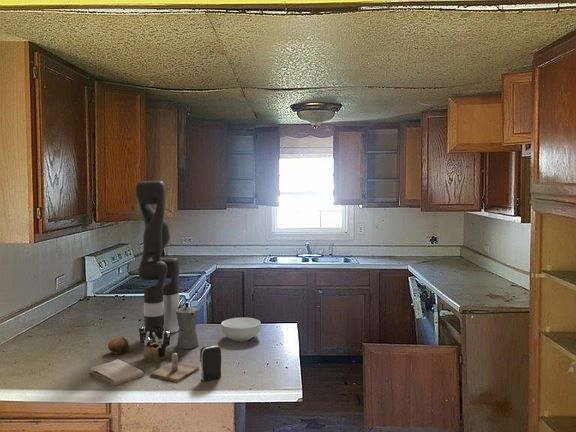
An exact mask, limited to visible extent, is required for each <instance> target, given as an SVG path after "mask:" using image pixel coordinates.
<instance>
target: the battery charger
mask: <svg viewBox="0 0 576 432" xmlns="http://www.w3.org/2000/svg"><path fill="white" fill-rule="evenodd" d="M221 349H222V348H221V347H220V346H218V345H216V344H210V345H206V346H205V345H204V346H203V347H201V349H200V351H199V362H200V363H201V380H202V381H203V382H207V381H212V380H216V379H221V378H222V350H221Z"/></svg>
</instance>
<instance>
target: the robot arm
mask: <svg viewBox="0 0 576 432" xmlns="http://www.w3.org/2000/svg"><path fill="white" fill-rule="evenodd" d="M135 194H136V198H137V202H138V205H139V208H140V212H141V214H142V218H143V222H144V226H145V228H144V231H143V232H144V233H143V236H142V237H143V238H142V239H143V240H142V241H143V242H142V243H143V245H142V246H143V249H142V250H143V251H142V255H141V260H140V263H139V266H138V271H137V272H138V273H137V274H138V277H139V279H140V280H142V281H157V282H155V284H151V285H147V286H145V287H144V290H143V300H144V302H143V303H144V304H143V325H144V326H142V327H139V329H138V333H139V340H140V344H143V345H144V347H145V346H147V345H150V344H152V342H153V340H154V341H155V343H158V345H159V357H160V358H162V357H164V356H165V347H166V348H168V346H169V347H170V344H171V334H174V333H176V332H179V326H178V320H177V314H176V309H178V307H179V305H180V262H179V259H178V258H177V257H162V253H163V251H164V249H165V248H166V247H167V246H168V244H169V242H170V239H171V235H170V234H171V233H170V230H169V225H168V223H167V221H166V220H165V219H164V218H165V209H166V200H167V189H166V185H165V182H163V180H141V181H139V182H138V183H136V185H135ZM151 205H156V208H155V210H154V208H152V206H151ZM150 259H151V260H152V261H150ZM166 279H170V281H169V282H166V284H165V281H166Z"/></svg>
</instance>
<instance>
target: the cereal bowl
mask: <svg viewBox="0 0 576 432" xmlns="http://www.w3.org/2000/svg"><path fill="white" fill-rule="evenodd" d="M220 323H221V324H220V327H221V328H220V329H221V333H222V334H223V335H224V336H225V337H226V338H228V339H231V340H233V341H235V342H247V341H248V340H250V339H251V338H254V337H256V336H257V335H258V334H259V333H260V332H261V331H260V330H261V321H260V319H257V318H253V317H232V318H229V319H225V320H223V321H222V322H220Z"/></svg>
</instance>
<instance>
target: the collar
mask: <svg viewBox="0 0 576 432" xmlns="http://www.w3.org/2000/svg"><path fill="white" fill-rule="evenodd" d="M166 358H168V355H167V347H165V356H164V357H162V358H160V357H159V345H158V343H156V341H155V342H151V343H150V345H147V346H145V345H144V346H143V360H144V361H149V362H152V363H158V362H159V361H162V360H164V359H166Z"/></svg>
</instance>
